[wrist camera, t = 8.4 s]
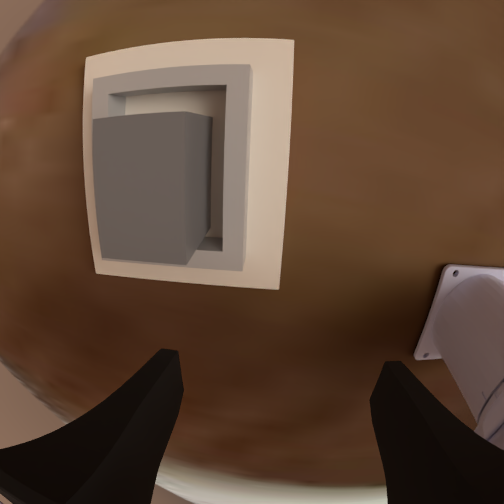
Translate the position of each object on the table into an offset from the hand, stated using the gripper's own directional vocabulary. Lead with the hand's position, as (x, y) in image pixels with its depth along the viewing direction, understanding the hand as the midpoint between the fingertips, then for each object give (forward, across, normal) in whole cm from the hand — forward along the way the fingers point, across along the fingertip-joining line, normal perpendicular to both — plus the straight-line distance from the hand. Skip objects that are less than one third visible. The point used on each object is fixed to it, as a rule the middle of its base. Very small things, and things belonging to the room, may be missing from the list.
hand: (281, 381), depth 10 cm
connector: (+8, +6, -6) cm, 12 cm away
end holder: (+9, +6, -6) cm, 13 cm away
